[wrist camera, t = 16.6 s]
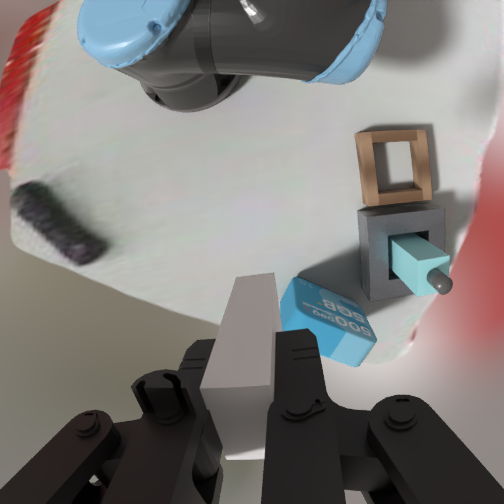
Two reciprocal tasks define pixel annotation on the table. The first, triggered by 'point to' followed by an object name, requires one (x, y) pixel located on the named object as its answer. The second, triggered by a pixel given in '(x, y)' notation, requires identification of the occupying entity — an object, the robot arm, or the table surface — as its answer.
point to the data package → (328, 321)
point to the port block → (376, 243)
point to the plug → (419, 264)
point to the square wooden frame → (419, 165)
